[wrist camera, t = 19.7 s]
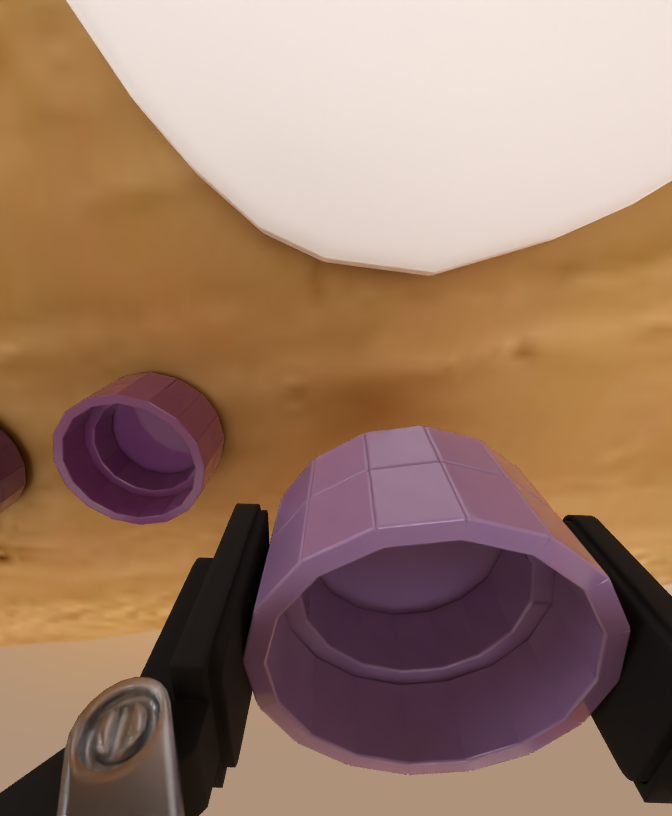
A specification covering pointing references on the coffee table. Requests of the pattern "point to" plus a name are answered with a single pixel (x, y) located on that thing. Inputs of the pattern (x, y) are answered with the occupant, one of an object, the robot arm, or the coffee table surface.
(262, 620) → the lilac dish
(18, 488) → the aubergine dish
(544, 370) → the coffee table surface
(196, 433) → the plum dish
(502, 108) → the plate
